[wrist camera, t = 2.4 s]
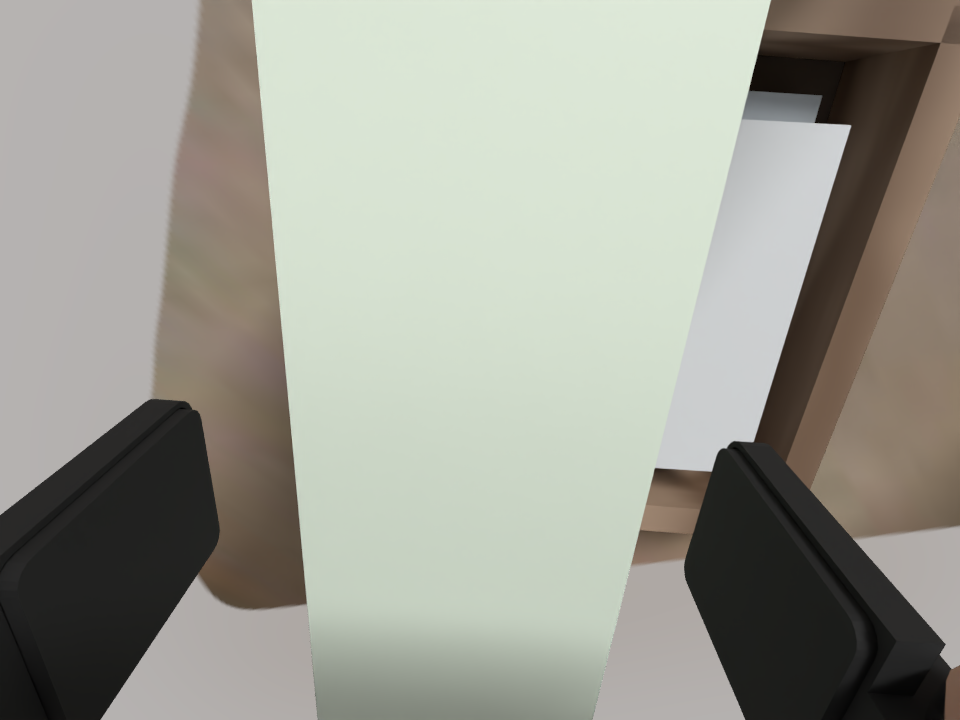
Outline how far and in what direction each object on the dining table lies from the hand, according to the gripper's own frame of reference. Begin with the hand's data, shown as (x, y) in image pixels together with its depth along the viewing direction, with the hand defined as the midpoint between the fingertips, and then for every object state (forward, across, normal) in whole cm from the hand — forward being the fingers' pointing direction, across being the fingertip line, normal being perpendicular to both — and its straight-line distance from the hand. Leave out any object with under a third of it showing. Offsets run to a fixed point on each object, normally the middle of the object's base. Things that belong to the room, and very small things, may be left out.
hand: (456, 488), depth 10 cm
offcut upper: (+14, -10, 0) cm, 17 cm away
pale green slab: (+17, 0, 0) cm, 17 cm away
